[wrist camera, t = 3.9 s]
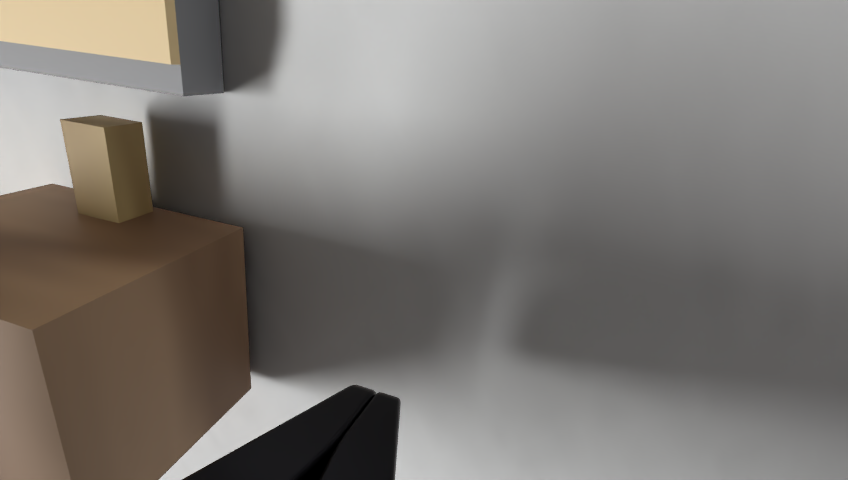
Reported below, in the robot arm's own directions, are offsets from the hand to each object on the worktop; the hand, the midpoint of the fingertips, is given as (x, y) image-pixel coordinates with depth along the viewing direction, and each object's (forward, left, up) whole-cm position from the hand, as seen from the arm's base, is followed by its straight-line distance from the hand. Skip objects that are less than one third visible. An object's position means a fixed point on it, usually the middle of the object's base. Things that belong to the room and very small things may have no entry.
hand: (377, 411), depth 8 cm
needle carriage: (+6, 0, -2) cm, 6 cm away
